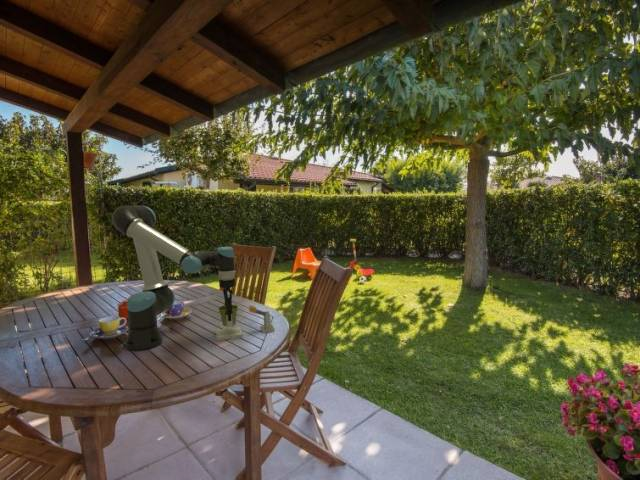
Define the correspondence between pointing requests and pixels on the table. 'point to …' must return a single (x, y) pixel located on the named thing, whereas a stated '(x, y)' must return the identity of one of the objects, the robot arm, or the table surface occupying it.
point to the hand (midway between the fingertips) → (229, 323)
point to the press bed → (229, 333)
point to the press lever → (257, 311)
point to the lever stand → (267, 324)
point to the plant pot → (223, 311)
